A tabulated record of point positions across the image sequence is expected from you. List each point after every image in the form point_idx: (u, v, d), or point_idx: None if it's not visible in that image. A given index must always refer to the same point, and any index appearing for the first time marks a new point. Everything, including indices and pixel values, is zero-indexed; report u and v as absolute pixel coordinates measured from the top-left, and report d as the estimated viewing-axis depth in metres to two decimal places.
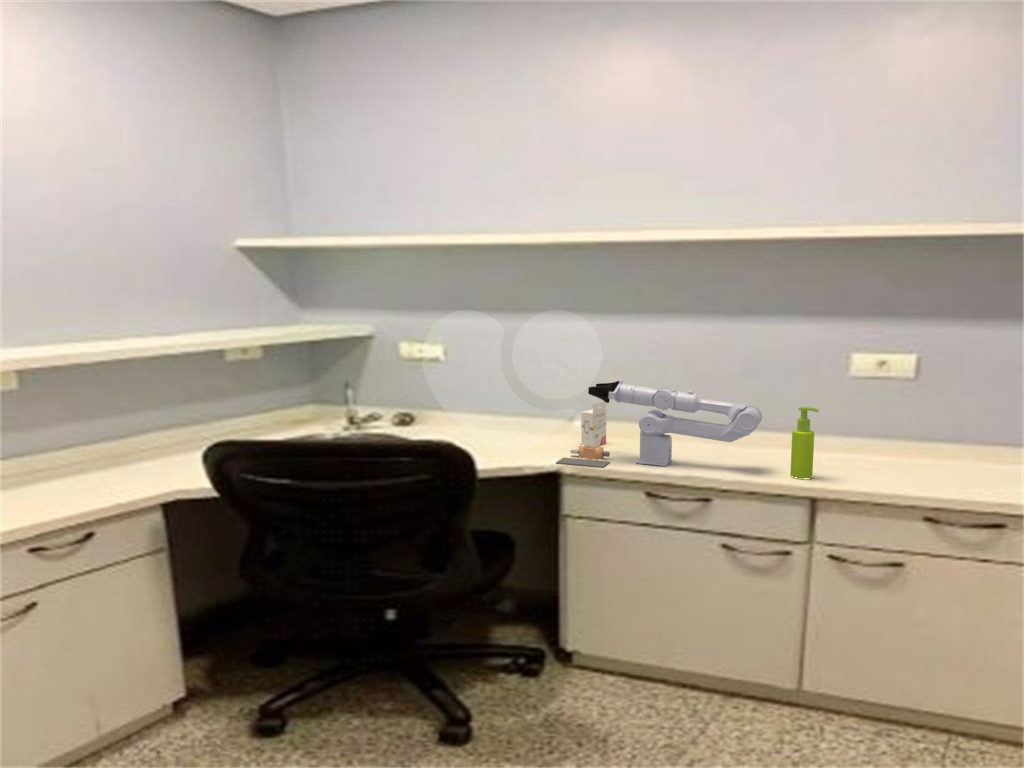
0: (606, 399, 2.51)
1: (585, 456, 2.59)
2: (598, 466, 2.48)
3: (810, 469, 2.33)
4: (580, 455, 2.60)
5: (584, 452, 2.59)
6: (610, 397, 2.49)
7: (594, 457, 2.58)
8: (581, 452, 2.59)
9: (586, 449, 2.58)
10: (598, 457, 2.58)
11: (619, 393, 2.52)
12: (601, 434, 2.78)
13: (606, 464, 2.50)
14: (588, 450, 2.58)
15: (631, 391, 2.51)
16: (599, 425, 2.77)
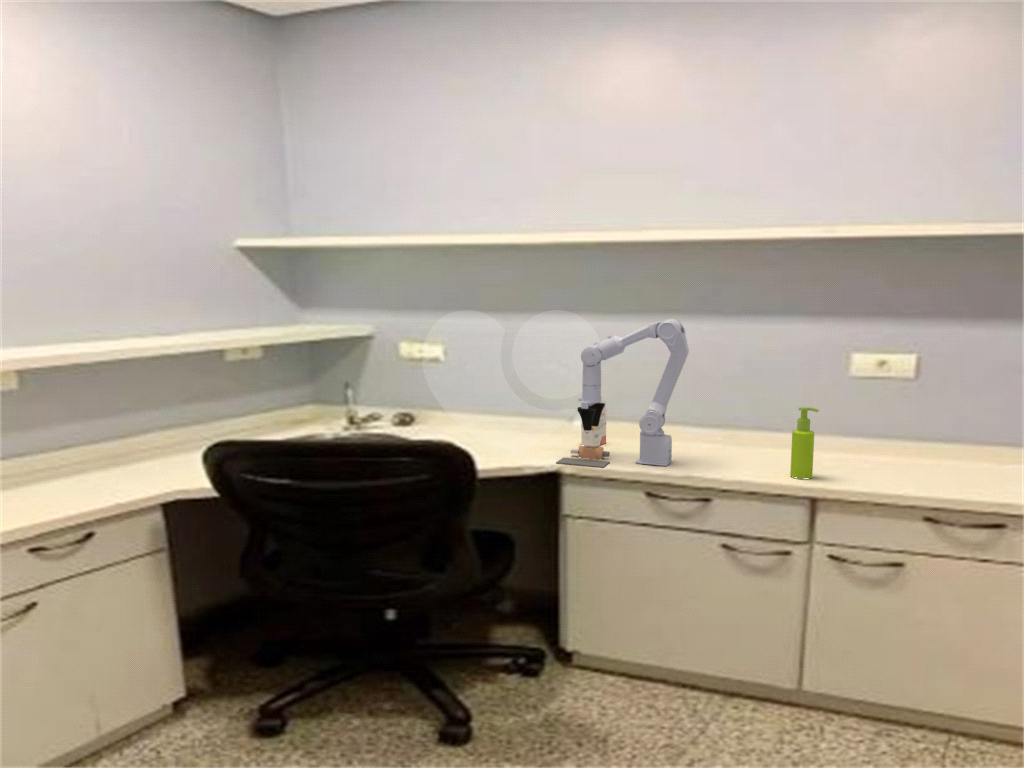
0: (590, 411, 2.52)
1: (585, 456, 2.59)
2: (598, 466, 2.48)
3: (810, 469, 2.33)
4: (580, 455, 2.60)
5: (584, 452, 2.59)
6: (586, 406, 2.51)
7: (594, 457, 2.58)
8: (581, 452, 2.59)
9: (586, 449, 2.58)
10: (598, 457, 2.58)
11: (588, 399, 2.55)
12: (601, 434, 2.78)
13: (606, 464, 2.50)
14: (588, 450, 2.58)
15: (585, 387, 2.56)
16: (599, 425, 2.77)
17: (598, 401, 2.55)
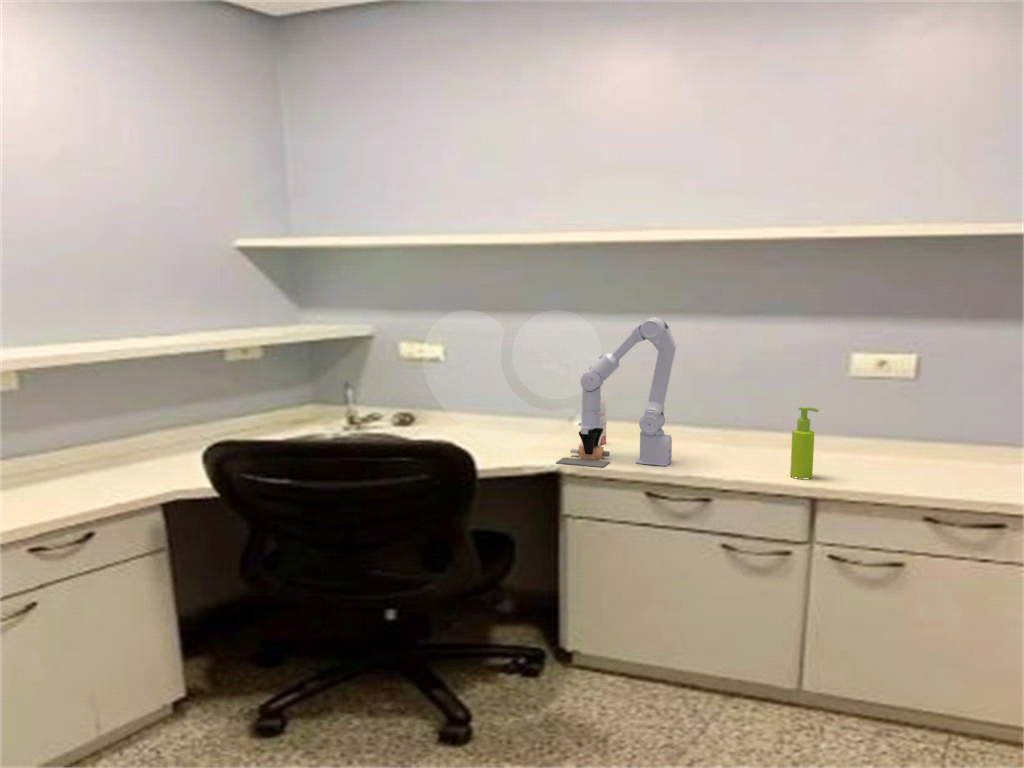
0: (591, 435, 2.55)
1: (585, 456, 2.59)
2: (598, 466, 2.48)
3: (810, 469, 2.33)
4: (580, 455, 2.60)
5: (584, 452, 2.59)
6: (585, 431, 2.52)
7: (594, 457, 2.58)
8: (581, 452, 2.59)
9: None
10: (598, 457, 2.58)
11: (587, 424, 2.56)
12: (601, 434, 2.78)
13: (606, 464, 2.50)
14: None
15: (584, 412, 2.57)
16: None
17: (598, 426, 2.57)
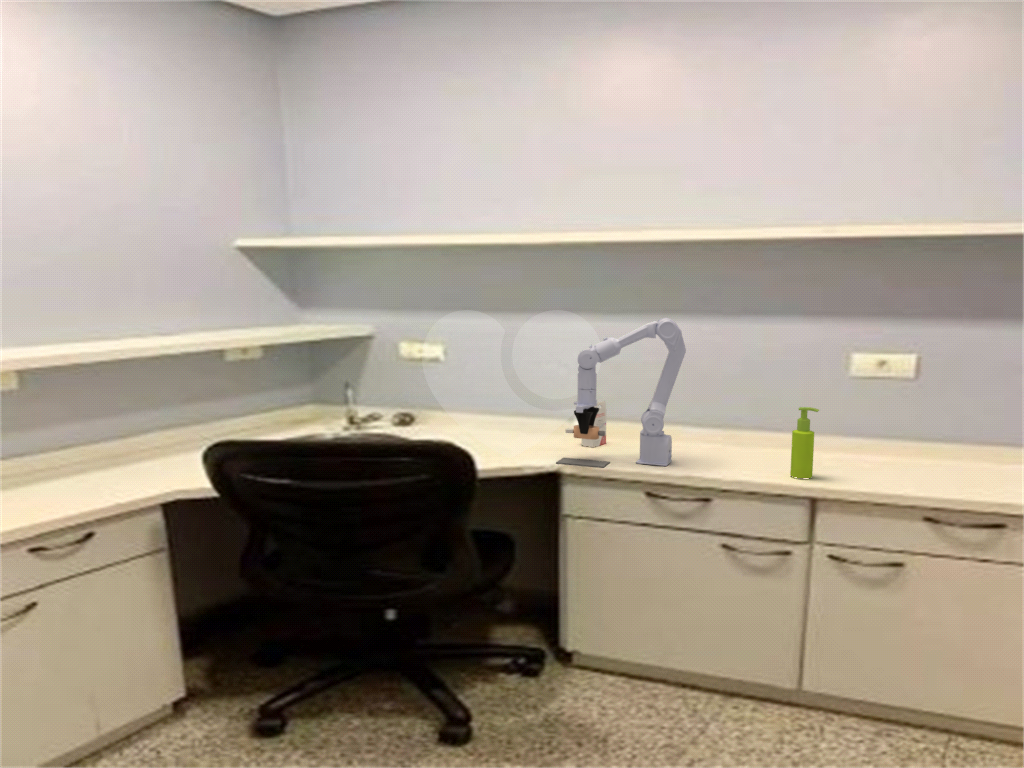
0: (587, 414, 2.49)
1: (580, 435, 2.54)
2: (598, 466, 2.48)
3: (810, 469, 2.33)
4: (575, 434, 2.55)
5: (579, 431, 2.54)
6: (580, 410, 2.47)
7: (589, 437, 2.53)
8: (576, 432, 2.54)
9: None
10: (593, 436, 2.52)
11: (583, 403, 2.51)
12: None
13: (606, 464, 2.50)
14: None
15: (580, 391, 2.51)
16: (599, 425, 2.77)
17: (593, 405, 2.51)
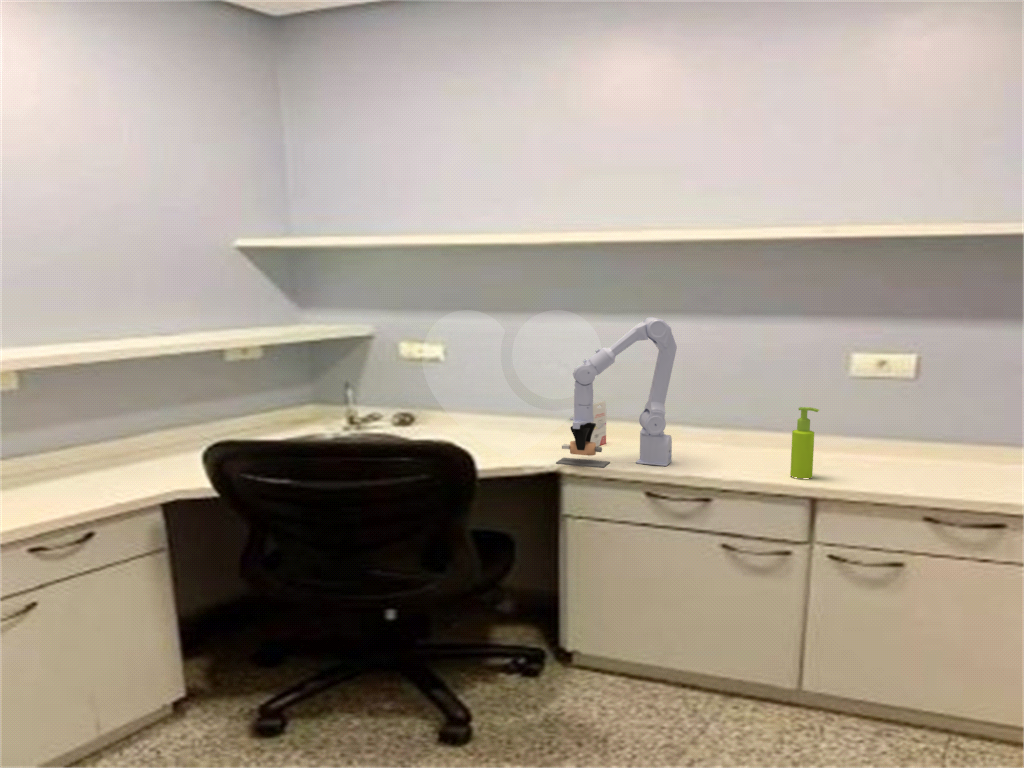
0: (583, 430, 2.47)
1: (577, 451, 2.51)
2: (598, 466, 2.48)
3: (810, 469, 2.33)
4: (572, 450, 2.52)
5: (576, 447, 2.51)
6: (577, 426, 2.44)
7: (586, 453, 2.50)
8: (573, 448, 2.52)
9: None
10: (590, 453, 2.50)
11: (579, 419, 2.49)
12: (601, 434, 2.78)
13: (606, 464, 2.50)
14: None
15: (576, 407, 2.49)
16: (599, 425, 2.77)
17: (590, 421, 2.49)
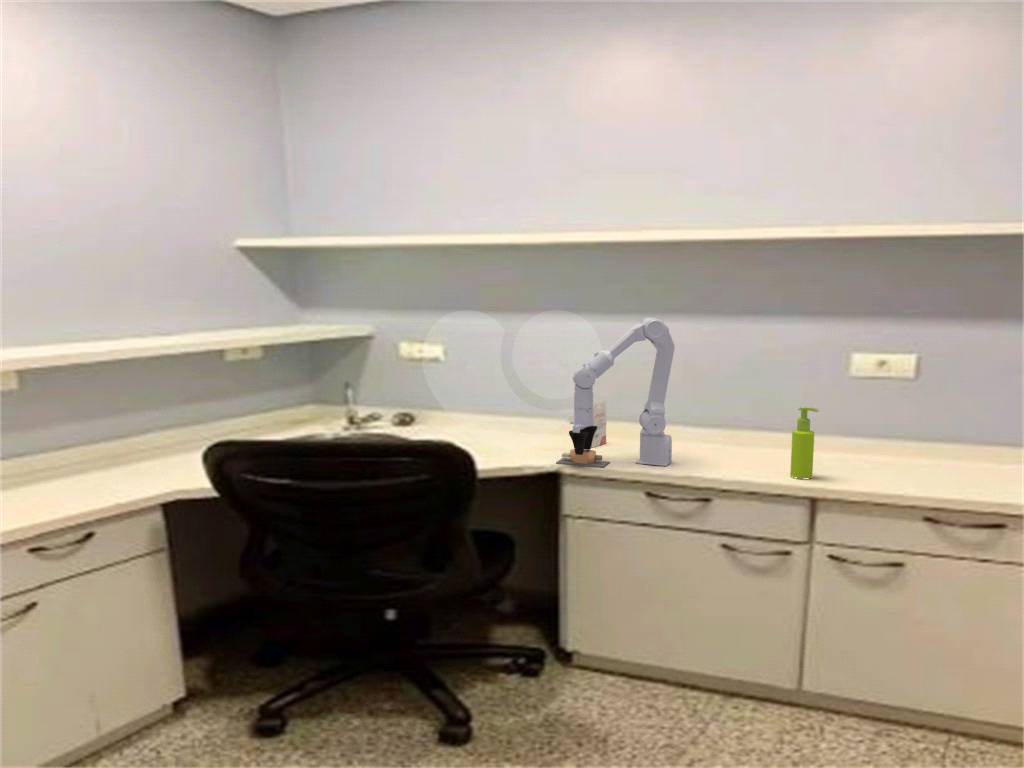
0: (582, 435, 2.46)
1: (577, 460, 2.52)
2: (598, 466, 2.48)
3: (810, 469, 2.33)
4: (572, 459, 2.52)
5: (576, 456, 2.51)
6: (577, 430, 2.45)
7: (586, 461, 2.50)
8: (573, 456, 2.52)
9: None
10: (590, 461, 2.50)
11: (579, 422, 2.49)
12: (601, 434, 2.78)
13: (606, 464, 2.50)
14: None
15: (576, 410, 2.49)
16: (599, 425, 2.77)
17: (590, 424, 2.49)
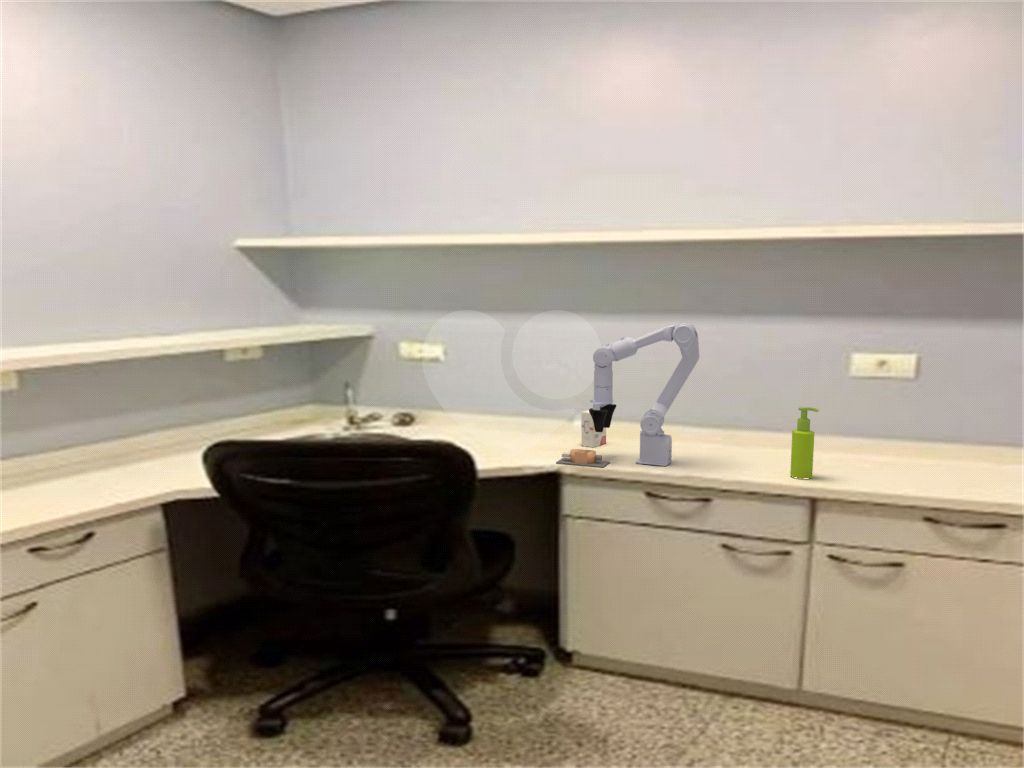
0: (602, 412, 2.50)
1: (577, 460, 2.52)
2: (598, 466, 2.48)
3: (810, 469, 2.33)
4: (572, 459, 2.52)
5: (576, 456, 2.51)
6: (597, 407, 2.49)
7: (586, 461, 2.50)
8: (573, 456, 2.52)
9: (578, 453, 2.51)
10: (590, 461, 2.50)
11: (599, 400, 2.53)
12: (601, 434, 2.78)
13: (606, 464, 2.50)
14: (579, 453, 2.51)
15: (596, 388, 2.53)
16: None
17: (610, 402, 2.53)
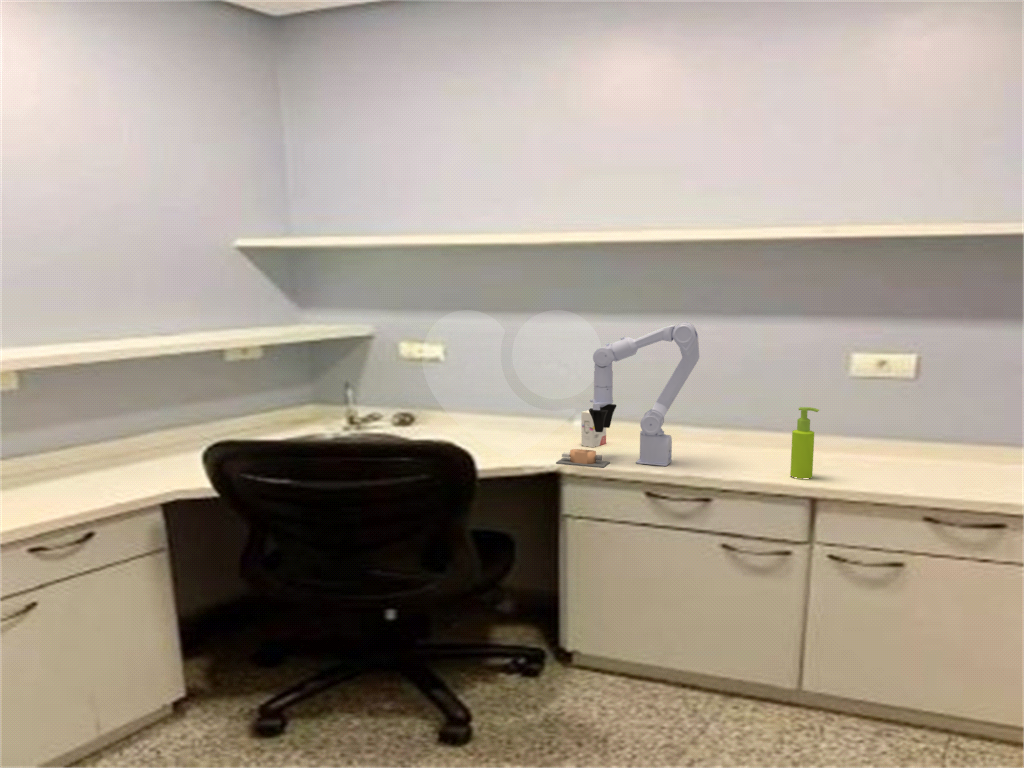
0: (602, 412, 2.50)
1: (577, 460, 2.52)
2: (598, 466, 2.48)
3: (810, 469, 2.33)
4: (572, 459, 2.52)
5: (576, 456, 2.51)
6: (597, 407, 2.49)
7: (586, 461, 2.50)
8: (573, 456, 2.52)
9: (578, 453, 2.51)
10: (590, 461, 2.50)
11: (599, 400, 2.53)
12: (601, 434, 2.78)
13: (606, 464, 2.50)
14: (579, 453, 2.51)
15: (596, 388, 2.53)
16: None
17: (610, 402, 2.53)
